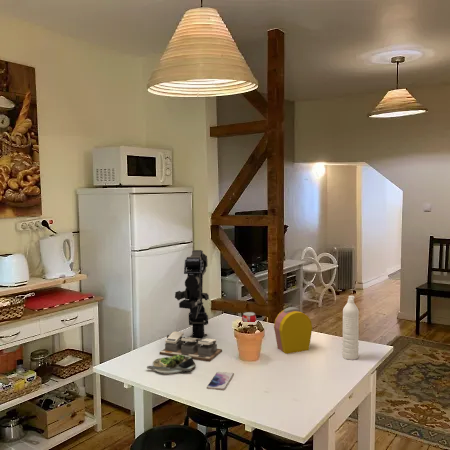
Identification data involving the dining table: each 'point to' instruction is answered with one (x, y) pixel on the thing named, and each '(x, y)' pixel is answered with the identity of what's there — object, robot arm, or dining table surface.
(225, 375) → the smartphone
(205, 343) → the switch
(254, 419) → the dining table surface
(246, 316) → the soda can
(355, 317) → the water bottle
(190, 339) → the switch middle
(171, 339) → the switch
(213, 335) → the dining table surface
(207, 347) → the switch console
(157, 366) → the salad plate
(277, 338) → the alarm clock
